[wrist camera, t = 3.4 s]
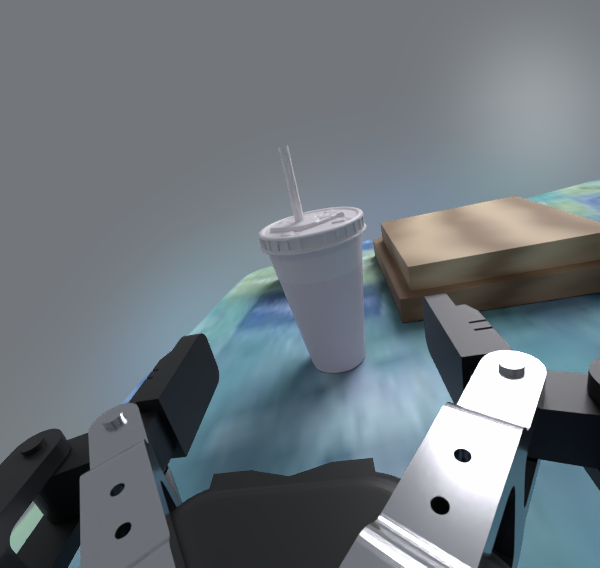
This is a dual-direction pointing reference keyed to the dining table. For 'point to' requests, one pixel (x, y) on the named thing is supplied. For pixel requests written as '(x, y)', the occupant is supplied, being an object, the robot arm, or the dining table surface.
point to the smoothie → (321, 276)
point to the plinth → (492, 287)
